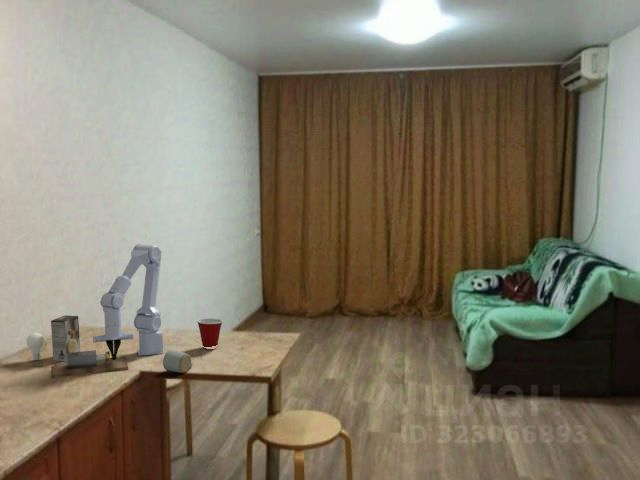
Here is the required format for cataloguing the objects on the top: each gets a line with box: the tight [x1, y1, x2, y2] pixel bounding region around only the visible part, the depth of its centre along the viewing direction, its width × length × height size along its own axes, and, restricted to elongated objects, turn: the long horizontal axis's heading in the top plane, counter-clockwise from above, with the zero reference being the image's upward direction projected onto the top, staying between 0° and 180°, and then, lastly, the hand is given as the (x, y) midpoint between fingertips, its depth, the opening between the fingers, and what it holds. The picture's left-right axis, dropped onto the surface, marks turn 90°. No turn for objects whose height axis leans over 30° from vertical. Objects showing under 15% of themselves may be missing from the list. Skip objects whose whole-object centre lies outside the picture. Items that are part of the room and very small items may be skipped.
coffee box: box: [50, 315, 81, 362], centre depth 246 cm, size 9×6×16 cm
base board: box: [52, 356, 129, 378], centre depth 234 cm, size 26×14×1 cm, turn 110°
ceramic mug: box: [162, 349, 194, 374], centre depth 231 cm, size 11×8×8 cm
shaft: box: [63, 350, 111, 363], centre depth 233 cm, size 16×4×4 cm, turn 110°
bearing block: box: [67, 350, 97, 370], centre depth 232 cm, size 10×6×5 cm, turn 110°
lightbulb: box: [25, 332, 45, 361], centre depth 242 cm, size 6×6×11 cm
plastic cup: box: [196, 318, 224, 347], centre depth 260 cm, size 11×11×12 cm
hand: (114, 359), depth 236 cm, fingers closed
